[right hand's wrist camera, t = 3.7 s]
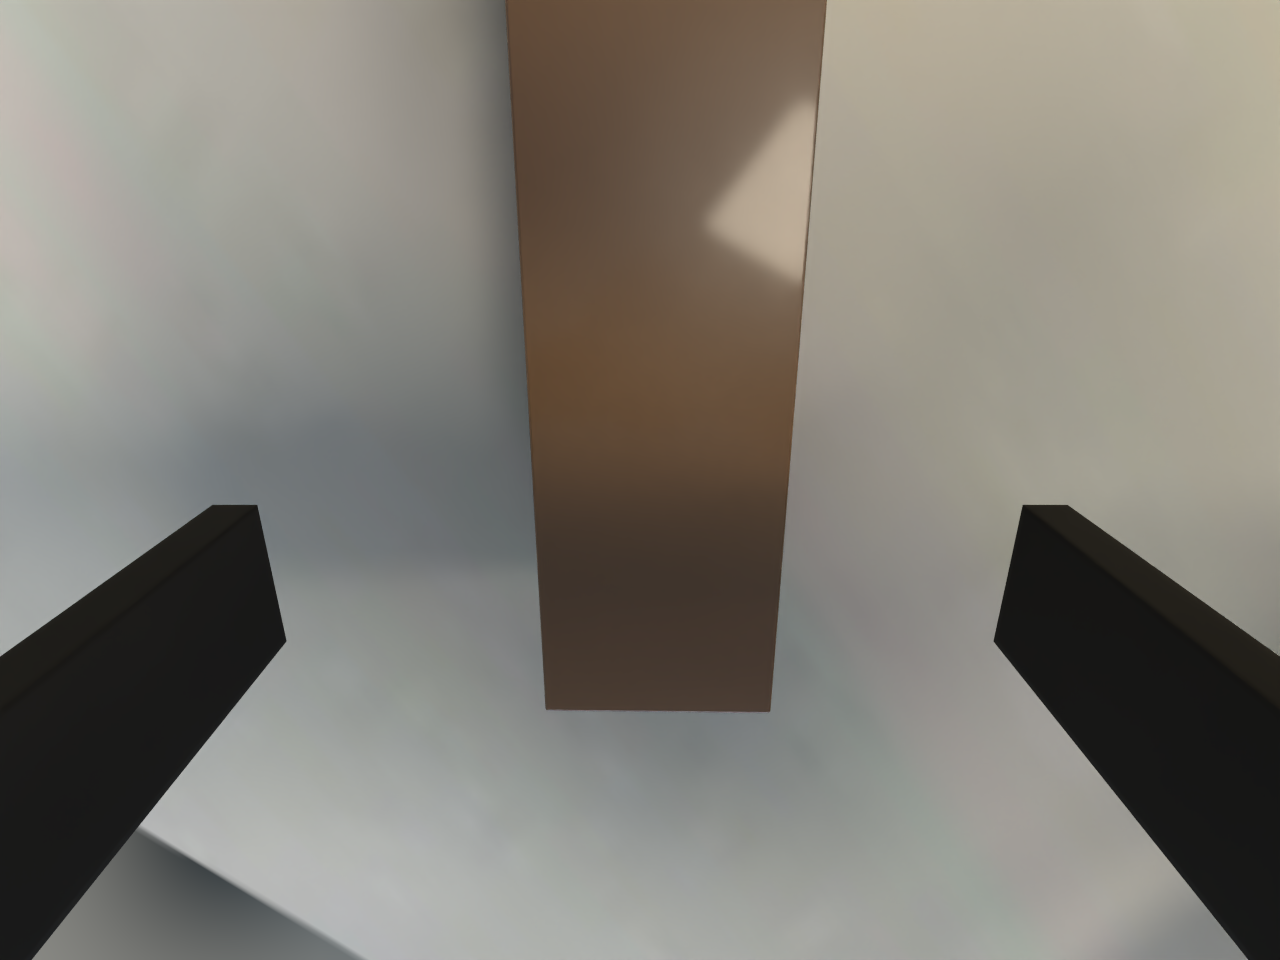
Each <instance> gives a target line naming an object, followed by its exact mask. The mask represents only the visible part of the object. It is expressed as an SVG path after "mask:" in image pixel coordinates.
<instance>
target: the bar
mask: <svg viewBox="0 0 1280 960" xmlns="http://www.w3.org/2000/svg"><path fill="white" fill-rule="evenodd" d="M826 5H827V0H505V8H506V26H507V43H508V61H509V78H510V96H511V113H512V131H513V148H514V166H515V183H516V201H517V218H518V235H519V253H520V270H521V288H522V305H523V323H524V340H525V358H526V375H527V393H528V410H529V428H530V445H531V463H532V480H533V498H534V515H535V533H536V550H537V567H538V585H539V602H540V620H541V637H542V655H543V672H544V690H545V707H546V710H554V711H639V712H724V713H769V712H770V709H771V696H772V684H773V671H774V659H775V646H776V633H777V621H778V608H779V596H780V583H781V571H782V558H783V546H784V533H785V520H786V508H787V495H788V483H789V470H790V458H791V445H792V432H793V420H794V407H795V395H796V382H797V370H798V357H799V345H800V332H801V319H802V307H803V294H804V282H805V269H806V257H807V244H808V231H809V219H810V206H811V194H812V181H813V169H814V156H815V144H816V131H817V118H818V106H819V93H820V81H821V68H822V56H823V43H824V30H825V18H826Z"/></svg>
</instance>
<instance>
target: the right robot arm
mask: <svg viewBox="0 0 1280 960" xmlns="http://www.w3.org/2000/svg"><path fill="white" fill-rule="evenodd" d="M285 642H286V637H285V632H284V628H283V623H282V618H281V614H280V609H279V604H278V600H277V595H276V590H275V586H274V581H273V576H272V572H271V567H270V562H269V558H268V553H267V548H266V544H265V539H264V534H263V530H262V525H261V521H260V516H259V511H258V507H257V505H212V506H210V507H209V508H208V509H206V510H205V511H203V512H202V513H201V514H199V515H198V516H196V517H195V518H194V519H192V520H191V521H189V522H188V523H187V524H185V525H184V526H182V527H181V528H180V529H178V530H177V531H175V532H174V533H173V534H171V535H170V536H168V537H167V538H166V539H164V540H163V541H161V542H160V543H159V544H157V545H156V546H154V547H153V548H152V549H150V550H149V551H147V552H146V553H145V554H143V555H142V556H140V557H139V558H138V559H136V560H135V561H133V562H132V563H131V564H129V565H128V566H126V567H125V568H124V569H122V570H121V571H119V572H118V573H117V574H115V575H114V576H112V577H111V578H110V579H108V580H107V581H105V582H104V583H103V584H101V585H100V586H98V587H97V588H96V589H94V590H93V591H91V592H90V593H89V594H87V595H86V596H84V597H83V598H82V599H80V600H79V601H77V602H76V603H75V604H73V605H72V606H70V607H69V608H68V609H66V610H65V611H63V612H62V613H61V614H59V615H58V616H56V617H55V618H54V619H52V620H51V621H49V622H48V623H47V624H45V625H44V626H42V627H41V628H40V629H38V630H37V631H35V632H34V633H33V634H31V635H30V636H28V637H27V638H26V639H24V640H23V641H21V642H20V643H19V644H17V645H16V646H14V647H13V648H12V649H10V650H9V651H7V652H6V653H5V654H3V655H2V656H0V960H32V959H33V957H34V956H35V955H36V953H37V952H38V951H39V950H40V948H41V947H42V946H43V945H44V944H45V942H46V941H47V940H48V939H49V937H50V936H51V935H52V934H53V932H54V931H55V930H56V929H57V927H58V926H59V925H60V924H61V922H62V921H63V920H64V919H65V917H66V916H67V915H68V914H69V912H70V911H71V910H72V909H73V907H74V906H75V905H76V904H77V902H78V901H79V900H80V899H81V897H82V896H83V895H84V893H85V892H86V891H87V890H88V889H89V887H90V886H91V885H92V883H93V882H94V881H95V880H96V879H97V877H98V876H99V875H100V874H101V872H102V871H103V870H104V868H105V867H106V866H107V865H108V864H109V862H110V861H111V860H112V858H113V857H114V856H115V855H116V854H117V852H118V851H119V850H120V849H121V847H122V846H123V845H124V844H125V842H126V841H127V840H128V839H129V837H130V836H131V835H132V834H133V832H134V831H135V830H136V829H137V827H138V826H139V825H140V824H141V822H142V821H143V820H144V819H145V817H146V816H147V815H148V814H149V812H150V811H151V810H152V809H153V807H154V806H155V805H156V804H157V802H158V801H159V800H160V799H161V797H162V796H163V795H164V794H165V792H166V791H167V790H168V789H169V787H170V786H171V785H172V784H173V782H174V781H175V780H176V779H177V777H178V776H179V775H180V774H181V772H182V771H183V770H184V769H185V767H186V766H187V765H188V764H189V762H190V761H191V760H192V759H193V757H194V756H195V755H196V754H197V752H198V751H199V750H200V749H201V747H202V746H203V745H204V744H205V742H206V741H207V740H208V739H209V737H210V736H211V735H212V734H213V732H214V731H215V730H216V729H217V727H218V726H219V725H220V724H221V722H222V721H223V720H224V719H225V717H226V716H227V715H228V714H229V712H230V711H231V710H232V709H233V707H234V706H235V705H236V704H237V702H238V701H239V700H240V699H241V697H242V696H243V695H244V694H245V692H246V691H247V690H248V689H249V687H250V686H251V685H252V684H253V682H254V681H255V680H256V679H257V677H258V676H259V675H260V674H261V672H262V671H263V670H264V669H265V667H266V666H267V665H268V664H269V662H270V661H271V660H272V659H273V657H274V656H275V655H276V654H277V652H278V651H279V650H280V649H281V647H282V646H283V645H284V644H285ZM994 642H995V644H996V645H997V646H998V647H999V649H1000V650H1001V651H1002V652H1003V654H1004V655H1005V656H1006V657H1007V659H1008V660H1009V661H1010V662H1011V664H1012V665H1013V666H1014V667H1015V669H1016V670H1017V671H1018V672H1019V674H1020V675H1021V676H1022V677H1023V679H1024V680H1025V681H1026V682H1027V684H1028V685H1029V686H1030V687H1031V689H1032V690H1033V691H1034V692H1035V694H1036V695H1037V696H1038V697H1039V699H1040V700H1041V701H1042V702H1043V704H1044V705H1045V706H1046V707H1047V709H1048V710H1049V711H1050V712H1051V714H1052V715H1053V716H1054V717H1055V719H1056V720H1057V721H1058V722H1059V724H1060V725H1061V726H1062V727H1063V729H1064V730H1065V731H1066V732H1067V734H1068V735H1069V736H1070V737H1071V739H1072V740H1073V741H1074V742H1075V744H1076V745H1077V746H1078V747H1079V749H1080V750H1081V751H1082V752H1083V754H1084V755H1085V756H1086V757H1087V759H1088V760H1089V761H1090V762H1091V764H1092V765H1093V766H1094V767H1095V769H1096V770H1097V771H1098V772H1099V774H1100V775H1101V776H1102V777H1103V779H1104V780H1105V781H1106V782H1107V784H1108V785H1109V786H1110V787H1111V789H1112V790H1113V791H1114V792H1115V794H1116V795H1117V796H1118V797H1119V799H1120V800H1121V801H1122V802H1123V804H1124V805H1125V806H1126V807H1127V809H1128V810H1129V811H1130V812H1131V814H1132V815H1133V816H1134V817H1135V819H1136V820H1137V821H1138V822H1139V824H1140V825H1141V826H1142V827H1143V829H1144V830H1145V831H1146V832H1147V834H1148V835H1149V836H1150V837H1151V839H1152V840H1153V841H1154V842H1155V844H1156V845H1157V846H1158V847H1159V849H1160V850H1161V851H1162V852H1163V854H1164V855H1165V856H1166V857H1167V859H1168V860H1169V861H1170V862H1171V864H1172V865H1173V866H1174V867H1175V869H1176V870H1177V871H1178V872H1179V874H1180V875H1181V876H1182V877H1183V879H1184V880H1185V881H1186V882H1187V884H1188V885H1189V886H1190V887H1191V889H1192V890H1193V891H1194V892H1195V894H1196V895H1197V896H1198V897H1199V899H1200V900H1201V901H1202V902H1203V904H1204V905H1205V906H1206V907H1207V909H1208V910H1209V911H1210V912H1211V914H1212V915H1213V916H1214V917H1215V919H1216V920H1217V921H1218V922H1219V924H1220V925H1221V926H1222V927H1223V929H1224V930H1225V931H1226V932H1227V934H1228V935H1229V936H1230V937H1231V939H1232V940H1233V941H1234V942H1235V944H1236V945H1237V946H1238V947H1239V949H1240V950H1241V951H1242V952H1243V954H1244V955H1245V956H1246V957H1247V959H1248V960H1280V656H1278V655H1277V654H1275V653H1274V652H1273V651H1271V650H1270V649H1268V648H1267V647H1266V646H1264V645H1263V644H1261V643H1260V642H1259V641H1257V640H1256V639H1254V638H1253V637H1252V636H1250V635H1249V634H1247V633H1246V632H1245V631H1243V630H1242V629H1240V628H1239V627H1238V626H1236V625H1235V624H1233V623H1232V622H1231V621H1229V620H1228V619H1226V618H1225V617H1224V616H1222V615H1221V614H1219V613H1218V612H1217V611H1215V610H1214V609H1212V608H1211V607H1210V606H1208V605H1207V604H1205V603H1204V602H1203V601H1201V600H1200V599H1198V598H1197V597H1196V596H1194V595H1193V594H1191V593H1190V592H1189V591H1187V590H1186V589H1184V588H1183V587H1182V586H1180V585H1179V584H1177V583H1176V582H1175V581H1173V580H1172V579H1170V578H1169V577H1168V576H1166V575H1165V574H1163V573H1162V572H1161V571H1159V570H1158V569H1156V568H1155V567H1154V566H1152V565H1151V564H1149V563H1148V562H1147V561H1145V560H1144V559H1142V558H1141V557H1140V556H1138V555H1137V554H1135V553H1134V552H1133V551H1131V550H1130V549H1128V548H1127V547H1126V546H1124V545H1123V544H1121V543H1120V542H1119V541H1117V540H1116V539H1114V538H1113V537H1112V536H1110V535H1109V534H1107V533H1106V532H1105V531H1103V530H1102V529H1100V528H1099V527H1098V526H1096V525H1095V524H1093V523H1092V522H1091V521H1089V520H1088V519H1086V518H1085V517H1084V516H1082V515H1081V514H1079V513H1078V512H1077V511H1075V510H1074V509H1072V508H1071V507H1070V506H1068V505H1023V507H1022V511H1021V516H1020V520H1019V525H1018V530H1017V534H1016V539H1015V544H1014V548H1013V553H1012V558H1011V562H1010V567H1009V572H1008V576H1007V581H1006V586H1005V590H1004V595H1003V600H1002V604H1001V609H1000V614H999V618H998V623H997V628H996V632H995V637H994Z"/></svg>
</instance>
